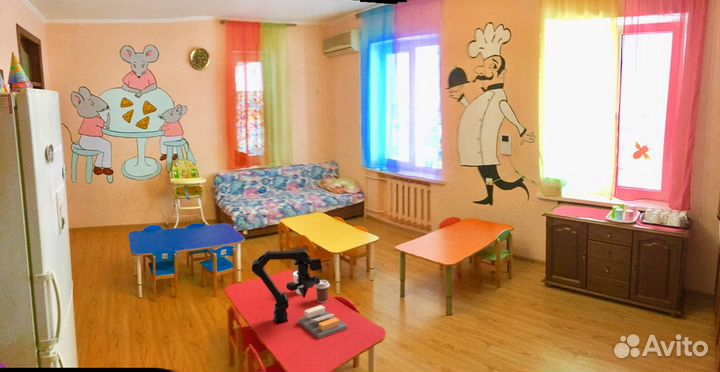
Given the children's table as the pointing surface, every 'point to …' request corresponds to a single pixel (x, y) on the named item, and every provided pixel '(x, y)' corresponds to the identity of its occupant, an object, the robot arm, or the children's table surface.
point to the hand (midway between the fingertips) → (303, 297)
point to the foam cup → (296, 281)
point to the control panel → (314, 326)
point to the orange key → (329, 324)
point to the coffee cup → (322, 291)
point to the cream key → (314, 311)
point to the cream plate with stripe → (322, 317)
